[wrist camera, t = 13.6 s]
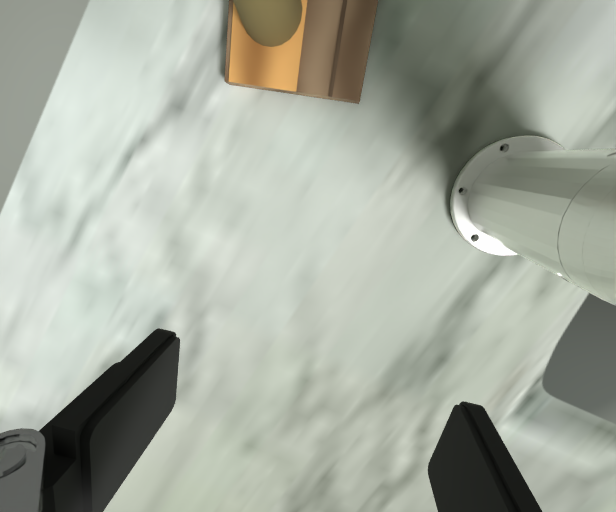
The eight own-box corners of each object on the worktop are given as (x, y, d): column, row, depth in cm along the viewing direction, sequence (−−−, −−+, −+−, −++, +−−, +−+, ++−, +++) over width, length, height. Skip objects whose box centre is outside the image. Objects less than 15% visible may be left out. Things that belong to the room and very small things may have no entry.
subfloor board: (386, -51, 28) (389, -64, 27) (358, 103, 32) (359, 100, 31) (238, -69, 29) (232, -83, 28) (229, 84, 33) (223, 80, 32)
